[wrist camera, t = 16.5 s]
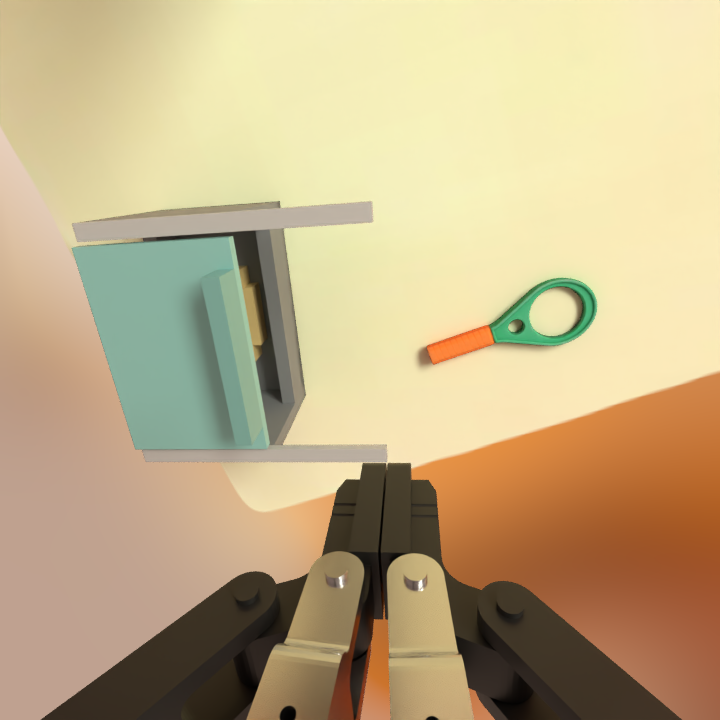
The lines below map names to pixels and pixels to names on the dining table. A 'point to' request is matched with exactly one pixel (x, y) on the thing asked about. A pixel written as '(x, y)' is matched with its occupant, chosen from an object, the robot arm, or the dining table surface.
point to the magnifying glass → (526, 334)
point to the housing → (253, 310)
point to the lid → (177, 341)
